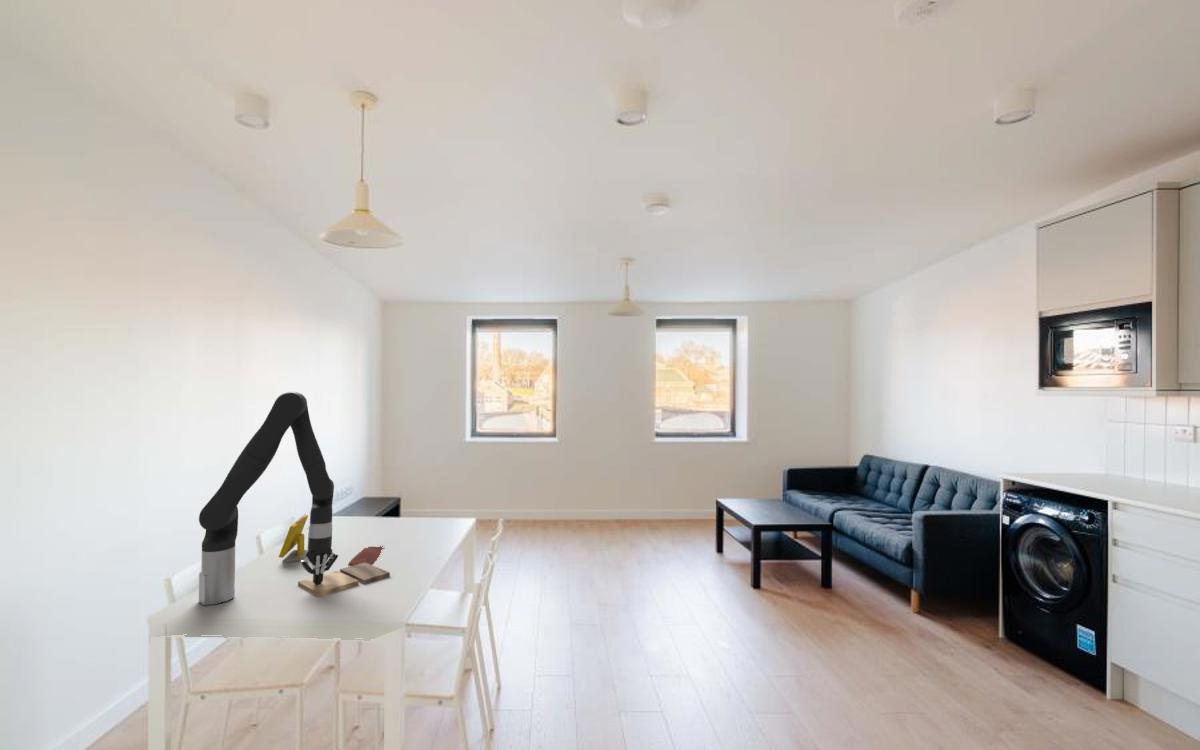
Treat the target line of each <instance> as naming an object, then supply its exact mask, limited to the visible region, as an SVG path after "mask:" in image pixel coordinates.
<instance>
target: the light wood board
mask: <svg viewBox="0 0 1200 750" xmlns="http://www.w3.org/2000/svg"><path fill="white" fill-rule="evenodd" d="M358 585H359V582H358V580H356V579H354V578H352V577H350V576H348V575H345V574H343V573H341V572H340V570H339V571H338V570H336V571H332V572H328V573H325V574H324V573H323V582H321V584H319V585H315V584H314V583H313V577H310V578H306V579H303V580H299V581H297V587H299V588H301V589H303V590H305V591H307V592H309V593H310V594H312V595H314V596H316V597H318V598H319V597H323V596H325V595H329V594H332V593H337V592H339V591H342V590H345V589H349V588H353V587H356V586H358Z"/></svg>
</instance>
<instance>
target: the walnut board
mask: <svg viewBox="0 0 1200 750" xmlns="http://www.w3.org/2000/svg"><path fill="white" fill-rule="evenodd" d="M339 572H341V573H343V574H345V575H348V576H350V577H352V578H354V579H356V580H358V583H359V584H362V585H366V584H370V583H374V582H376V581H380V580H383V579H387V578H389V577H390V576H391V575H390V571H387V570H384V569H382V568H379V567H378V566H375V565H374V564H372V565H370V564H368V563H366V562H365V563H361V564H357V565H354V566H346V567H343V568H340V569H339Z"/></svg>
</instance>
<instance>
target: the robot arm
mask: <svg viewBox="0 0 1200 750" xmlns="http://www.w3.org/2000/svg"><path fill="white" fill-rule="evenodd" d="M289 428H291V430H292V433H293V437H294V442H295V446H296V447H295V448H296V452H297V457H298V458H299V459H298V460H299V461H300V463H301V467H302V468H303V471H304V473H305V476H306V480H307V484H308V488H309V490H310V494H311V495H312V496H311V497H312V499H311V508H310V513H309V514H310V515H309V526H308V533H307V536H308V537H307V538H308V539H307V550H308V552H307V554H306V557H305V558H304V559H303V560H300V561H298V564H300V565H301V566H302V568H303V569H304V570H305V571H306V572H307V573H309V574H311V575H313V576H312V578H313V583H314V584H315V585H319V584H321V582H323V575H324V573H325V572H326V571H328V572H329V570H330V568H332V566H333V565H334V563H335V562H336V560H337V559H338V557H339V554H338V553H334V552H333V549H332V544H333V541H332V540H333V500H334V494H335V491H334V490H335V483H334V481H333V480H332V479H331V478H330V476H329V474H328V471H327V468H326V467H327V466H326V465H327V464H326V462H325V458H324V456H323V453H322V450H321V447H320V445H319V443H318V440H317V438H316V436H315V432H314V430H313V426H312V423H311V418H310V413H309V407H308V400H307V398H306V397H305V395H303V394H302V393H300V392H298V391H288V392H287V391H286V392H284V393H281V394H280V395H278V396H277V397H276V399H275V401H274V402H273V405H272V407H271V409H270V411H269V413H268V414H267V417H266V418H265V420H264V421H263V423H262V424H261V426H260V428H258V430H257V431H256V432H255V433H254V435H253V436H252V437H251V439H250V440H249V441H248V443H247V444H246V445H245V446H244V448H243V450H242V451H241V453H240V454H239V455H238V457H237V458H236V460H235V462H234V464H233V465H232V467H231V468H230V470H229V472H228V474H227V475H226V477H225V479H224V480H223V482H222V483H221V485H220V487H219V488H218V490H217V491H216V492H215V493H214V494H213V496H212V497H211V498H210V499H209V500H208V501H207V503H206V504H205V506H203V508H202V509H201V511H200V513H199V516H198V522H199V526H201V527H202V528H203V530H205V534H204V538H203V540H202V541H201V542H202V543H201V564H200V565H201V566H200V567H201V570H200V572H199V574H198V602H199V603H200V602H201V603H200V604H201V605H203V606H204V605H206V606H210V605H211V606H212V605H217V604H218V603H219V604H222V603H221V602H223V603H226V602H229V601H231V600H233V599H234V598H235V595H236V594H235V593H236V592H235V591H236V589H235V588H236V587H235V585H236V583H235V581H236V541H237V540H236V539H237V536H238V528H239V527H238V525H239V509H238V504H239V503H240V501H241V500H242V499H243V496H244V495H245V494H246V493H247V492H248V490H250V489H251V488H252V486H254V484H255V483H256V482H257V481H258V480H259V479H260V477H261V476H262V475H263V474H264V473H265V471H266V469H267V468H268V467H269V465H270V463H271V462H272V461H273V459H274V457H275V455H276V453H277V451H278V449H279V447H280V444H281V441H282V439H283V437H284V436H285V434H286V433H287V431H288V430H289ZM309 562H310V563H311V566H310V565H309V564H310V563H309ZM233 597H234V598H233ZM232 598H233V599H232ZM230 599H231V600H230ZM228 600H229V601H228ZM225 601H226V602H225Z"/></svg>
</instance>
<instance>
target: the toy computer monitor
mask: <svg viewBox="0 0 1200 750" xmlns="http://www.w3.org/2000/svg"><path fill="white" fill-rule="evenodd" d="M308 517H309V515H308V514H303V515H302V516H301V517H300V518H298V519H297V520H296V521H294V523H293V524H291V525H290V526H289V529H288V532H287V534H286V536H285V539H284V542H283V544H282V547H281V549H280V553H279V555H278V558H281V559H283V560H282V562H281V563H283V562H285V563H293V562H299V561H300V560H303V559H304V558H305V557H306V554H307V552H308V549H305V534H304V533H303V530H304V527H305V525H306V523H307V520H308ZM296 546H297V547H296ZM294 547H296V549H294ZM291 550H292V551H291ZM284 557H285V558H284ZM292 561H293V562H292Z"/></svg>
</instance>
